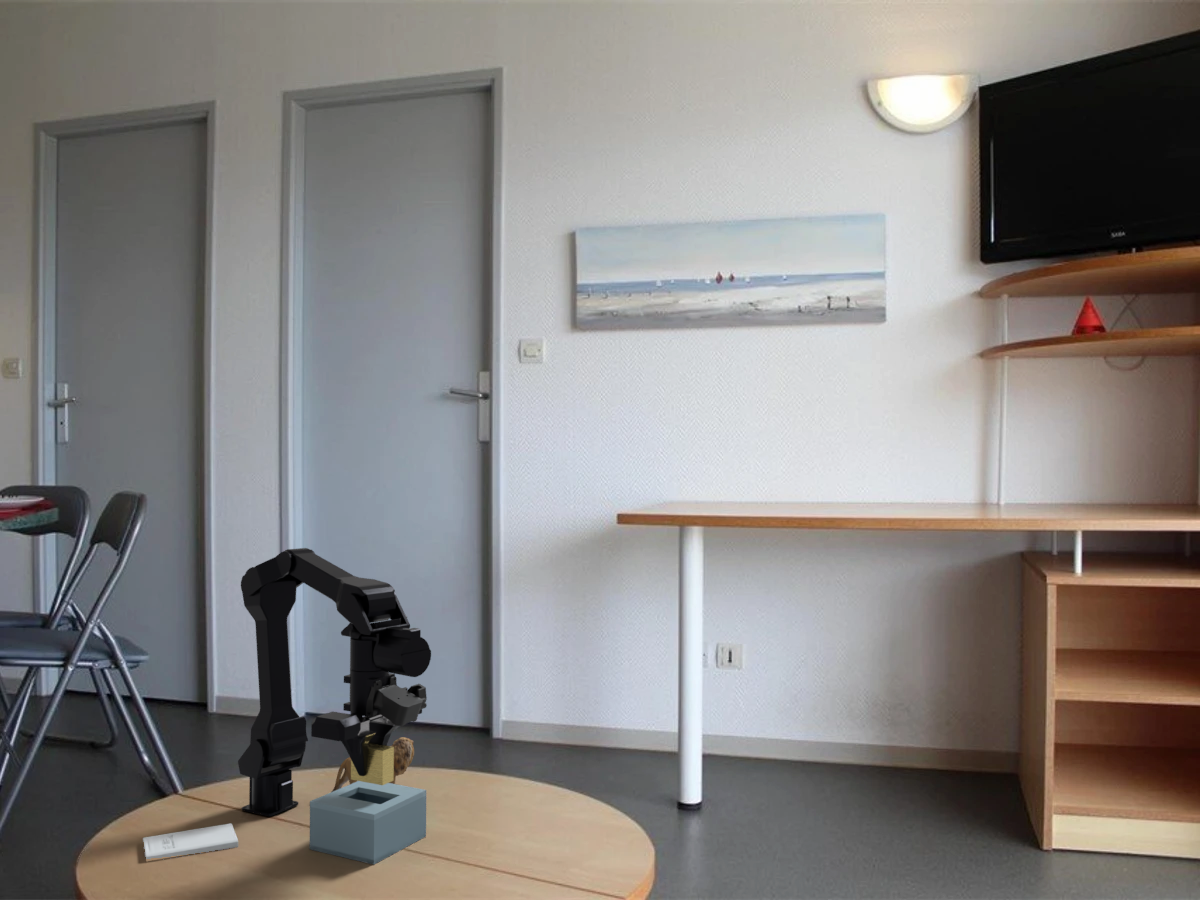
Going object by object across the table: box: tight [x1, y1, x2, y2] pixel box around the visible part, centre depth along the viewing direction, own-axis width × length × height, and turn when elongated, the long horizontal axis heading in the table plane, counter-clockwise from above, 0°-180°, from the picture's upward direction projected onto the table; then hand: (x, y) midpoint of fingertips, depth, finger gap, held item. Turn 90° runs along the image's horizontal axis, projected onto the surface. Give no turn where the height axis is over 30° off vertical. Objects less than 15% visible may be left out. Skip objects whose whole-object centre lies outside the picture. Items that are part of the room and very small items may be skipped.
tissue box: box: [309, 781, 427, 865], centre depth 147 cm, size 12×12×7 cm
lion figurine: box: [331, 736, 415, 792], centre depth 169 cm, size 15×5×9 cm, turn 116°
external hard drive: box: [142, 823, 239, 859], centre depth 146 cm, size 2×8×12 cm
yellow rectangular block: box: [351, 743, 394, 785], centre depth 147 cm, size 6×2×5 cm, turn 63°
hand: (368, 773), depth 147 cm, fingers closed on yellow rectangular block, 2 cm apart
